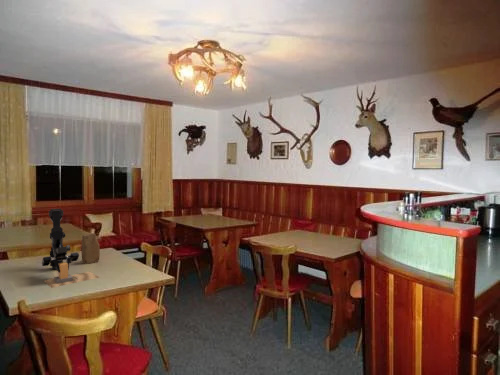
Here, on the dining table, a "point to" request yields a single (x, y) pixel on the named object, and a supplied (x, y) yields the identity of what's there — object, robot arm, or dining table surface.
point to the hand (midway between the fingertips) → (63, 271)
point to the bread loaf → (90, 248)
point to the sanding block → (63, 274)
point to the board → (76, 279)
